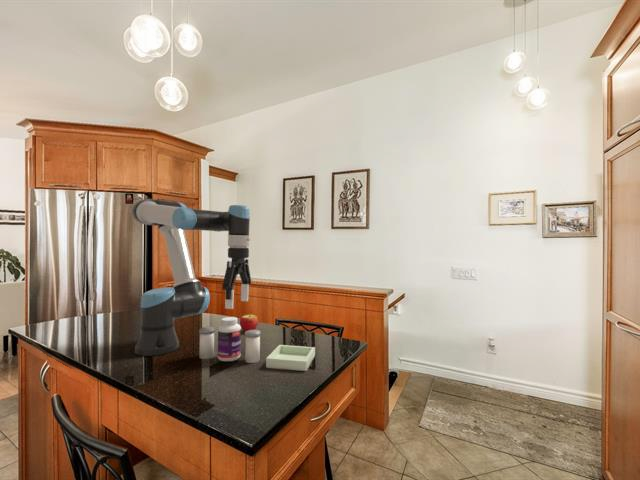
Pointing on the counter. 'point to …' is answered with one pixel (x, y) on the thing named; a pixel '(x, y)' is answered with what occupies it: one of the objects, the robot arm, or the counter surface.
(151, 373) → the counter surface
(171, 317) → the robot arm
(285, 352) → the tray
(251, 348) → the canister
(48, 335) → the counter surface
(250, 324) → the apple
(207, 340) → the canister
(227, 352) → the pill bottle
